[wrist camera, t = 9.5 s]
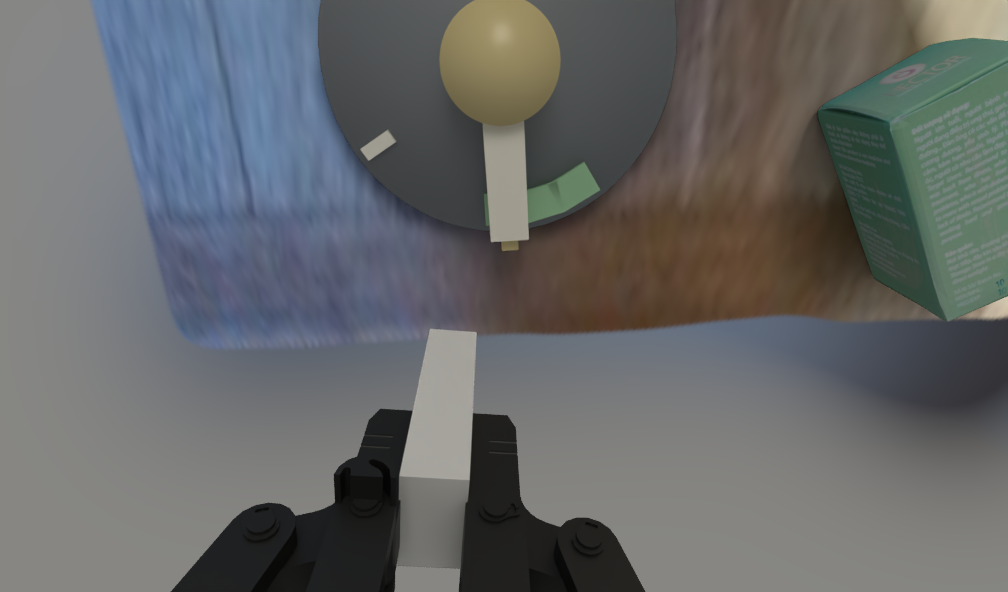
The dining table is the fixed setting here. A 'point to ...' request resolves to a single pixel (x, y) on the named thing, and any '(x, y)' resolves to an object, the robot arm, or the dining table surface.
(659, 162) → the dining table surface
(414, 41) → the plate
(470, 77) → the round-headed handle
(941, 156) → the box
